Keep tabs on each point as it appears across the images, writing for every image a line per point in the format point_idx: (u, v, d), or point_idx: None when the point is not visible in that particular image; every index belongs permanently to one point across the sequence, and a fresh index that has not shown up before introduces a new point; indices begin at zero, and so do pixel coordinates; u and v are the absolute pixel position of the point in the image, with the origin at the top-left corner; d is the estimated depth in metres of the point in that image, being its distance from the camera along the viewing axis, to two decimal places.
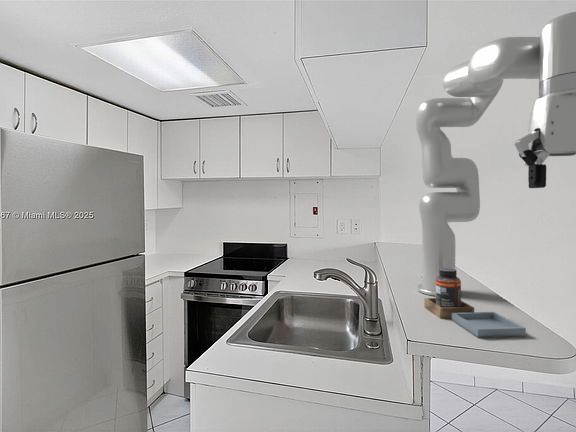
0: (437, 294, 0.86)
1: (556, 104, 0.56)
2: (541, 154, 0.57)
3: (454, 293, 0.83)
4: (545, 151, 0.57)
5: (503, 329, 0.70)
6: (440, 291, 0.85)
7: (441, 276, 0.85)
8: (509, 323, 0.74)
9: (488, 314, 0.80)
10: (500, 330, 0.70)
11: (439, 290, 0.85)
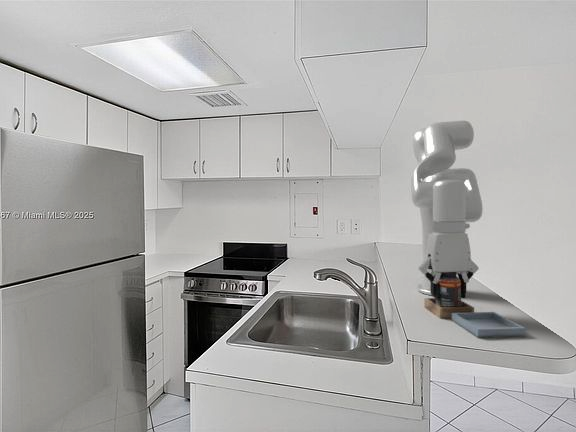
0: None
1: (439, 241, 0.83)
2: (435, 276, 0.84)
3: (454, 293, 0.83)
4: (437, 274, 0.84)
5: (503, 329, 0.70)
6: (440, 291, 0.84)
7: (441, 276, 0.85)
8: (509, 323, 0.74)
9: (488, 314, 0.80)
10: (500, 330, 0.70)
11: None
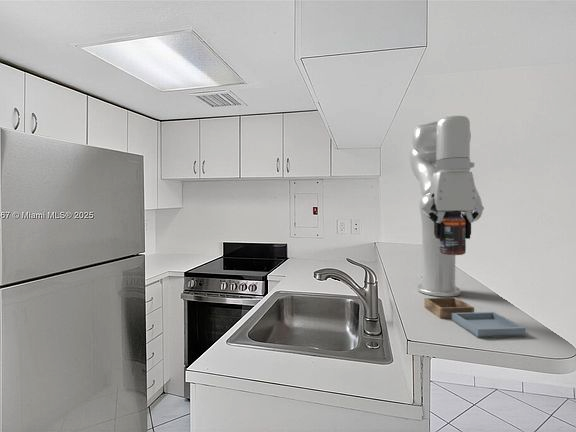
0: None
1: (443, 178, 0.81)
2: (439, 216, 0.82)
3: (459, 232, 0.81)
4: (440, 213, 0.82)
5: (503, 329, 0.70)
6: (444, 231, 0.82)
7: (445, 216, 0.83)
8: (509, 323, 0.74)
9: (488, 314, 0.80)
10: (500, 330, 0.70)
11: None
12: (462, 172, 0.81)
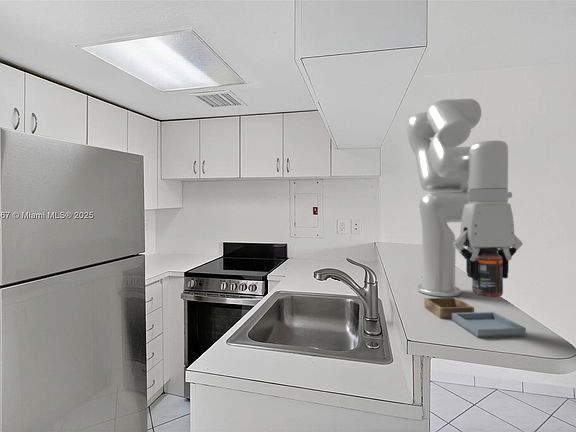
0: None
1: (478, 211, 0.72)
2: (473, 253, 0.73)
3: (496, 272, 0.72)
4: (475, 250, 0.73)
5: (503, 329, 0.70)
6: (479, 270, 0.73)
7: (479, 252, 0.74)
8: (509, 323, 0.74)
9: (488, 314, 0.80)
10: (500, 330, 0.70)
11: None
12: (500, 204, 0.72)
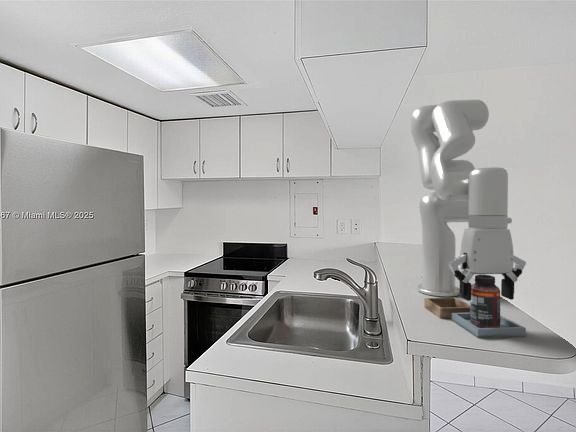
0: (472, 305, 0.75)
1: (478, 238, 0.72)
2: (467, 275, 0.73)
3: (494, 304, 0.72)
4: (470, 272, 0.73)
5: (503, 329, 0.70)
6: (477, 302, 0.74)
7: (477, 284, 0.75)
8: (509, 323, 0.74)
9: None
10: (500, 330, 0.70)
11: (475, 300, 0.74)
12: (499, 231, 0.72)
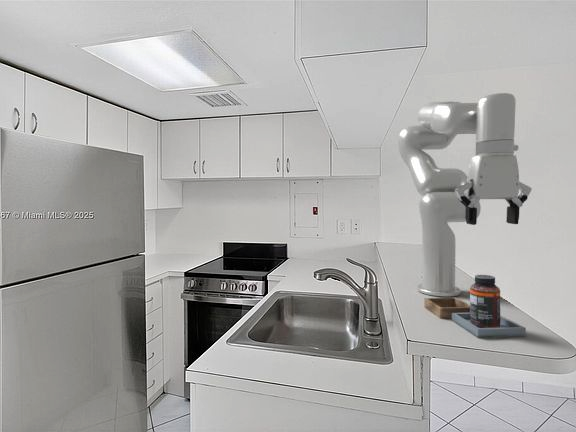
0: (472, 305, 0.75)
1: (484, 163, 0.74)
2: (473, 200, 0.76)
3: (494, 304, 0.72)
4: (476, 197, 0.76)
5: (503, 329, 0.70)
6: (477, 302, 0.74)
7: (477, 284, 0.75)
8: (509, 323, 0.74)
9: None
10: (500, 330, 0.70)
11: (475, 300, 0.74)
12: (505, 156, 0.74)
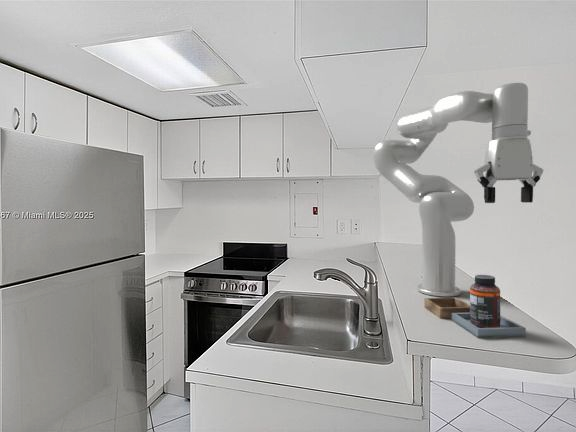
0: (472, 305, 0.75)
1: (501, 146, 0.82)
2: (491, 180, 0.83)
3: (494, 304, 0.72)
4: (494, 178, 0.83)
5: (503, 329, 0.70)
6: (477, 302, 0.74)
7: (477, 284, 0.75)
8: (509, 323, 0.74)
9: None
10: (500, 330, 0.70)
11: (475, 300, 0.74)
12: (520, 139, 0.81)
